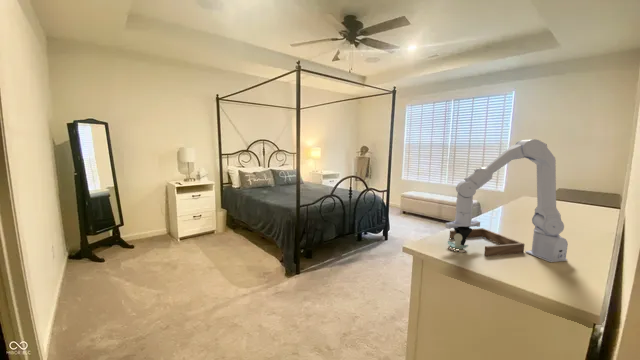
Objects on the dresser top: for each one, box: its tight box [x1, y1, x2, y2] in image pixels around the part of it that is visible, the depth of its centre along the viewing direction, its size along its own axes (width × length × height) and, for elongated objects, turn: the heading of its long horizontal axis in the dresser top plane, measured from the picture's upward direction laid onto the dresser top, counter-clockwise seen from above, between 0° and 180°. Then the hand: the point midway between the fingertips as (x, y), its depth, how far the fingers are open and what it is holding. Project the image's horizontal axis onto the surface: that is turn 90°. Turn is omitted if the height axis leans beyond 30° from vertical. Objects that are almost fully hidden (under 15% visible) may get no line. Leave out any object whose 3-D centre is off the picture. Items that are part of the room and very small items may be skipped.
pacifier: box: [447, 233, 469, 253], centre depth 107 cm, size 7×6×6 cm
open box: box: [449, 227, 525, 257], centre depth 112 cm, size 20×17×4 cm
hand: (461, 244), depth 110 cm, fingers closed
